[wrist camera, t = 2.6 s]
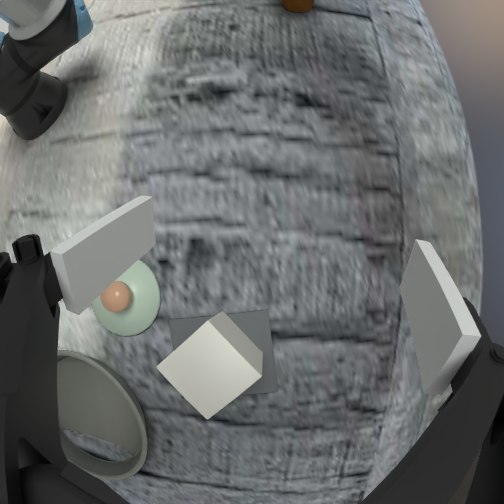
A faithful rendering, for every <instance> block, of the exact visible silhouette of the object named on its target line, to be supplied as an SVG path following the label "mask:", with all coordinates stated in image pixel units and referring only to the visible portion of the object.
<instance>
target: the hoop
mask: <svg viewBox="0 0 504 504" xmlns="http://www.w3.org/2000/svg"><path fill="white" fill-rule="evenodd" d="M57 398H58V416H59V429H60V439H61V446H62V449H63V452H64V454H65V456H66V458H67V460H68V462H69V461H70V462H72V463H73V464H75V465H76V466H78V467H80V468H81V469H83V470H84V471H86V472H88V473H89V474H91V475H93V476H94V477H96V478H100V479H105V480H121V479H125V478H128V477H130V476H132V475H134V474H135V473H137V472H138V471H139V470H140V468H141V467H142V466H143V464H144V462H145V459H146V455H147V446H148V445H147V435H146V422H145V418H144V414H143V411H142V409H141V406H140V404H139V402H138V400H137V398H136V397H135V395H134V393H133V392H132V390H131V389H130V388H129V386H128V385H127V384H126V383H125V382H124V380H123V379H122V378H121V377H120V376H119V375H118V374H117V373H115V372H114V371H113V370H112V369H110V368H109V367H108V366H106V365H104V364H103V363H101V362H99V361H97V360H95V359H93V358H89V357H86V356H84V355H82V354H79V353H76V352H72V351H67V350H57ZM63 430H70V431H72V432H77V433H79V434H84V433H85V434H88V435H91V436H94V437H97V438H100V439H103V440H107V441H110V442H112V443H114V444H115V445H116V446H117V445H119V446H121V447H122V448H124V449H126V450H128V451H129V452H128V453H130V454H131V455H132V456H133V457H131V458H129V459H127V460H125V461H120V462H113V461H105V460H102V459H98V458H96V457H93V456H91V455H89V454H88V453H86V452H84V451H83V450H82V449H80V448H79V447H78V446H76V445H75V444H74V443H73V442H72V441H71V440H70V439H69V438H68V437H67V435H66V434H65V433H64V431H63Z"/></svg>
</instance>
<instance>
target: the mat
mask: <svg viewBox="0 0 504 504" xmlns="http://www.w3.org/2000/svg"><path fill="white" fill-rule="evenodd" d="M226 315H227V316H228V317H229V318H230V319H231V320H232V321H233V322H234V323H235V324H236V325H237V326H238V327H239V328H240V329H241V331H242V332H243V333H244V334H245V335H246V336H247V337H248V338H249V339H250V340H251V341H252V342H253V343H254V344H255V345H256V346H257V347H258V348H259V349H260V350H261V351H262V352H263V361H262V377H261V378H259V379H258V380H257V381H256V382H255V383H253V384H252V385H251V386H250V387H249V388H247V389H246V390H245V391H244V392H242V393H241V394H240V395H250V394H260V393H269V392H278V389H277V381H276V372H275V364H274V355H273V347H272V339H271V330H270V322H269V314H268V309H267V310H259V311H251V312H242V313H233V314H226ZM214 316H215V315H214ZM214 316H203V317H192V318H180V319H170V320H169V322H170V329H171V336H172V343H173V350H176V349H177V348H178V347H179V346H180V345H181V344H182V343H183V342H184V341H186V340H187V339H188V338H189V337H190V336H191V335H192V334H193V333H194V332H196V331H197V330H198V329H199V328H200V327H201V326H202V325H203V324H204V323H205V322H207V321H208V320H209V319H211V318H212V317H214ZM182 398H184V397H183V396H182Z"/></svg>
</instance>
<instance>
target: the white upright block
mask: <svg viewBox="0 0 504 504" xmlns="http://www.w3.org/2000/svg"><path fill="white" fill-rule="evenodd" d="M262 361H263V352H262V351H261V350H260V349H259V348H258V347H257V346H256V345H255V344H254V343H253V342H252V341H251V340H250V339H249V338H248V337H247V336H246V335H245V334H244V333H243V332H242V331H241V329H240V328H239V327H238V326H237V325H236V324H235V323H234V322H233V321H232V320H231V319H230V318H229V317H228V316H227V315H226V313H225V312H224V311H222V312H220V313H219V314H217V315H215V316H214V317H212V318H211V319H209V320H208V321H207V322H205V323H204V324H203V325H202V326H201V327H200V328H199V329H198V330H197V331H196V332H194V333H193V334H192V335H191V336H190V337H189V338H188V339H187V340H186V341H184V342H183V343H182V344H181V345H180V346H179V347H178V348H177V349H176V350H174V351H173V352H172V353H171V354H170V355H169V356H168V357H167V358H166V359H164V360H163V361H162V362H161V363H160V364H159V365H158V366H157V367H156V368H157V369H158V370H159V371H160V372H161V373H162V374H163V375H164V377H165V378H166V379H167V380H168V381H169V382H170V383H171V384H172V385H173V386H174V387H175V388H176V389H177V390H178V391H179V392H180V393H181V395H182V396H183V397H184V398H185V399H186V400H187V401H188V402H189V403H190V404H191V405H192V406H193V407H194V408H195V409H196V410H198V411H199V412H200V413H201V414H202V415H203V416H204V417H205V418H206V419H207V420H208V419H209V418H210V417H212V416H213V415H214V414H216V413H217V412H218V411H219V410H221V409H222V408H223V407H225V406H226V405H227V404H229V403H230V402H231V401H232V400H234V399H235V398H236V397H237V396H239V395H240V394H241V393H242V392H244V391H245V390H246V389H247V388H249V387H250V386H251V385H252V384H253V383H255V382H256V381H257V380H258V379H259V378H261V377H262Z"/></svg>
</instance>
